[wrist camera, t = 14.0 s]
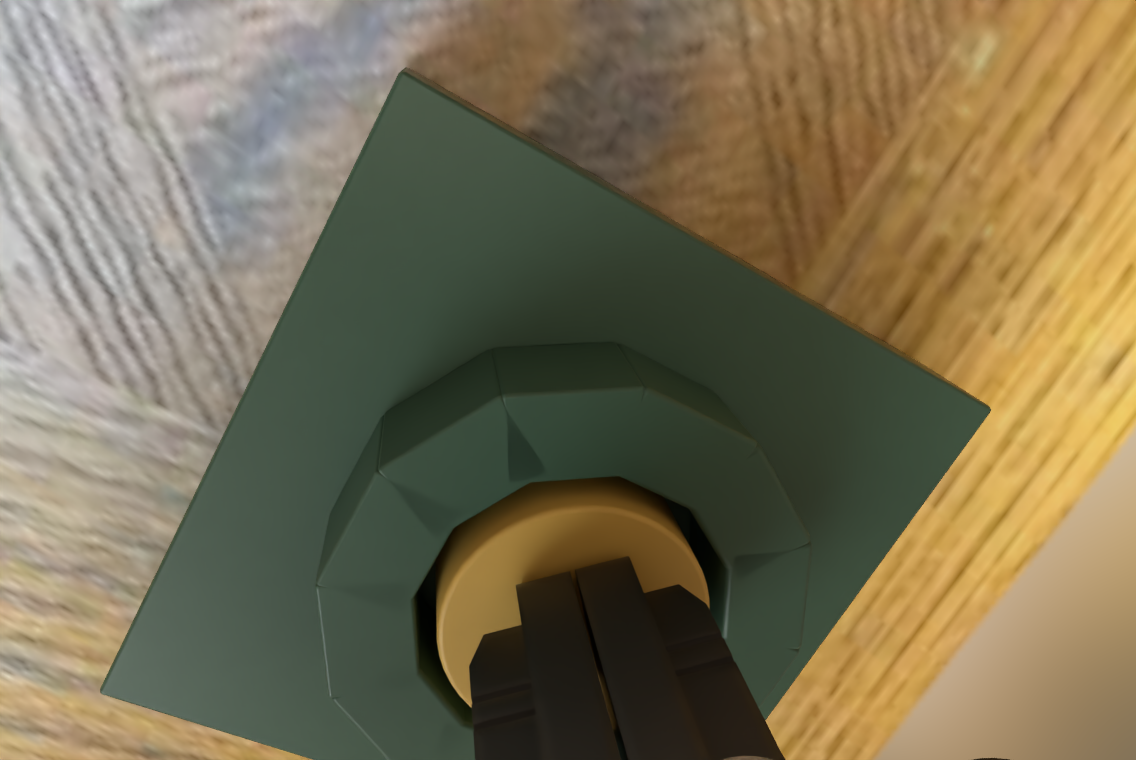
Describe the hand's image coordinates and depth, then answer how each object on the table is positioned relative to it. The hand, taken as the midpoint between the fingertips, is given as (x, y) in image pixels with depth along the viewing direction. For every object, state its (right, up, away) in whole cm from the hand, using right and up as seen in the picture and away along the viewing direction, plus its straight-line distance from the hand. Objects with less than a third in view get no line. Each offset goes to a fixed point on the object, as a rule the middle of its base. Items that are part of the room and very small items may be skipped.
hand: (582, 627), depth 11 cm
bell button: (0, +1, +2) cm, 2 cm away
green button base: (-1, +1, +4) cm, 4 cm away
